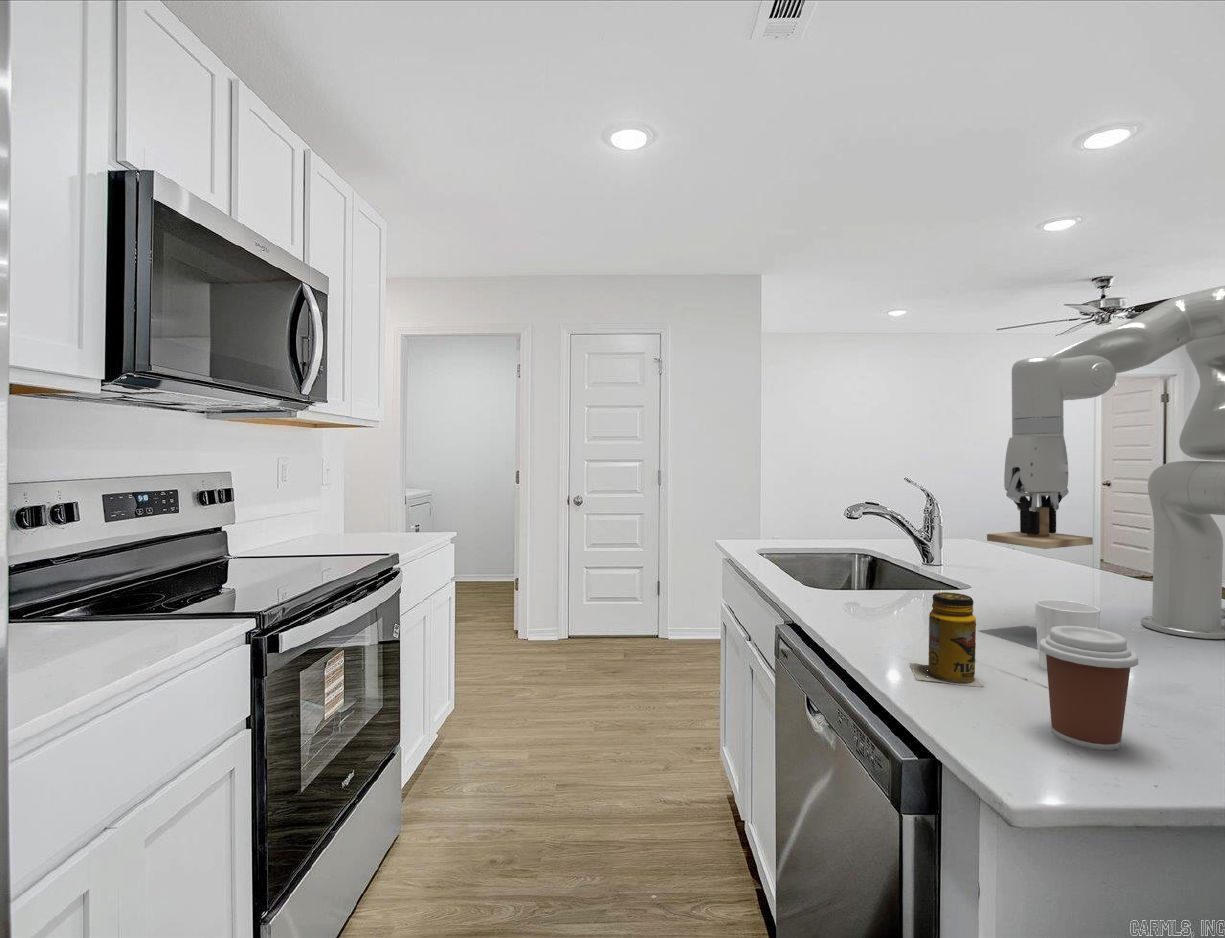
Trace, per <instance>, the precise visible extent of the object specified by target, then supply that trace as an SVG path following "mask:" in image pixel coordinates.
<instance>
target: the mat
mask: <svg viewBox="0 0 1225 938" xmlns="http://www.w3.org/2000/svg"><path fill="white" fill-rule="evenodd" d="M978 632H980V633H983V634H986V635H989V636H992V637H996V638H999V639H1002V640H1005V641H1008V642H1011V643H1015V644H1018V645H1022V646H1026V647H1028V648H1031V649H1034V650H1038V648H1037V632H1036V627H1034V626H1029V625H1022V626H1010V627H1001V628H990V629H982V630H978Z"/></svg>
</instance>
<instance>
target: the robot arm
mask: <svg viewBox="0 0 1225 938" xmlns="http://www.w3.org/2000/svg"><path fill="white" fill-rule="evenodd" d="M1183 346H1185V349H1186V352H1187V354H1188V357H1189V358H1190V360H1191V362H1192V364H1193V366H1194V368H1195V370H1196V372H1197V375H1198V379H1199V389H1198V392H1197V395H1196V398H1195V400H1194V402H1193V405H1192V407H1191V410H1190V412H1189V413H1188V415H1187V418H1186V420H1185V422H1184V425H1183V428H1182V430H1181V433H1180V436H1179V441H1178V444H1179V448H1180V450H1181V452H1182V453H1183V454H1185V455H1186V456H1188V457H1190V458H1193V459H1197V460H1182V461H1181V460H1179V461H1171V462H1167V463H1164V464H1161V465H1160V466H1158V467H1157V468H1155V469H1153V471H1152V472H1151V473H1150V476H1149V477H1148V481H1147V492H1148V497H1149V500H1150V506H1151V510H1152V516H1153V553H1152V554H1153V557H1152V559H1153V563H1152V566H1153V567H1152V608H1151V609H1152V611H1151V615H1148V616H1143V617H1141V625H1142V626H1143V627H1146V628H1147V629H1151V630H1154V631H1157V632H1161V633H1165V634H1171V635H1176V636H1181V637H1187V638H1195V639H1205V640H1225V625H1222V620H1224V619H1225V607H1222V599H1223V598H1222V597H1223V594H1222V593H1223V563H1224V562H1223V560H1224V559H1223V555H1224V554H1223V553H1224V552H1223V551H1224V538H1223V534H1222V532H1221V530H1220V528H1219V526H1218V524H1217V522H1216V521H1215V519H1214V518H1213V516H1212V515H1217V516H1218V515H1219V516H1225V285H1220V286H1215V287H1210V288H1208V289H1203V290H1198V291H1195V292H1190V293H1186V294H1183V295H1178V296H1175V297H1172V298H1169V299H1167V300H1165V301H1163V302H1161V303H1158V304H1157V305H1155V306H1153V307H1152V308H1150V309H1148V310H1146V311H1144V312H1143V313H1141V314H1139V315H1137V316H1136V317H1133V318H1132V319H1130V320H1128V321H1126V322H1124V323H1122V324H1120V325H1118V326H1116V327H1113V328H1110V329H1108V330H1104V331H1103V332H1100V333H1098V334H1096V335H1094V336H1091V337H1089V338H1087V339H1085V340H1082V341H1079V342H1077V343H1075V344H1072V345H1069V346H1067V347H1065V348H1062V349H1061V350H1058V351H1056V352H1055V353H1052V354H1051V355H1049V356H1040V357H1039V356H1037V357H1031V358H1030V357H1029V358H1023V359H1019V360H1017V361H1016V362H1015V363H1014V364H1013V365H1012V367H1011V434H1012V435H1011V437H1009V438H1008V442H1007V446H1006V452H1005V453H1006V454H1005V460H1004V477H1003V478H1004V479H1003V480H1004V481H1003V483H1004V485H1003V487H1004V490H1005V491H1006V494H1005V495H1006V497H1007V498H1008V499H1010V500H1011V501H1013V502H1014V504H1015V505H1016V508H1017V511H1019V528H1020V530H1019V531H1020V532H1021V533H1026V534H1034V535H1037V534H1039V533H1040V515H1039V512H1037V511H1036V509H1037V507H1048V508H1049V533H1057V511H1058V510H1059V508H1060V505H1059V504H1060V503H1061V501H1062V500H1063V498H1065V497H1066V496H1067V495H1068V494H1069V489H1068V486H1069V460H1068V453H1067V445H1066V440H1065V434H1064V433H1065V432H1064V431H1065V430H1064V401H1074V400H1076V401H1077V400H1086V399H1092V398H1096V397H1099V396H1101V395H1104V394H1105V393H1107V392H1108V391H1109V390H1111V389H1112V387H1113V386H1114V384H1115V382H1116V380H1117V374H1122V373H1126V372H1129V371H1133V370H1136V369H1140V368H1143V367H1145V366H1148V365H1150V364H1152V363H1155V362H1156V361H1158V360H1159V359H1161V358H1163V357H1164V356H1166V355H1168V354H1171V353H1172V352H1173V351H1175V350H1177V349H1179V348H1181V347H1183ZM1205 460H1206V461H1205ZM1027 497H1029V499H1028V498H1027Z"/></svg>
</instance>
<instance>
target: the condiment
mask: <svg viewBox="0 0 1225 938" xmlns="http://www.w3.org/2000/svg"><path fill="white" fill-rule="evenodd" d="M931 598H932V603H931V607H932V609H931V611H930V612H929V617H928V664H921V663H916V662H909V666H910V668H911V671H912V670H914V671H912V673H914V674H913V676H914V677H915V678H916V681H925V682H935V683H946V684H949V685H950V684H951V685H957V686H958V685H959V686H965V687H966V686H967V687H971V686H972V687H977V688H979V687H980V688H981V687H983V684H982V683H981V682H980V680H979V679H978V678H977V677H976V675H975V674H976V661H977V660H976V647H977V645H976V644H977V643H976V635H977V634H976V633H977V632H976V626H977V622H976V621H977V619H976V616H975V615H974V614H973V613H974V599H973V598H972V597H971V596H970V595H966V594H963V593H958V592H946V591H945V592H944V591H943V592H936V593H934V594H933V595H932V597H931ZM927 670H928V671H927ZM927 676H928V677H927Z"/></svg>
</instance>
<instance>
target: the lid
mask: <svg viewBox="0 0 1225 938" xmlns="http://www.w3.org/2000/svg"><path fill="white" fill-rule="evenodd" d="M1036 511H1037V512H1039V515H1040V533H1039V534H1037V535H1034V534H1026V533H1021V532H1020V530H1019V531H1009V532H1008V531H1007V532H998V533H987V534H986V541H987V542H993V543H1001V544H1005V545H1006V544H1007V545H1014V546H1015V545H1016V546H1021V547H1028V548H1037V549H1042V550H1048V549H1050V550H1051V549H1057V548H1058V549H1060V548H1069V547H1070V548H1071V547H1081V546H1083V547H1084V546H1091V545H1093V544H1094V543H1093V542H1094V541H1093V539H1094V538H1093V537H1091V536H1083V535H1082V536H1081V535H1074V534H1065V533H1058V532H1056V533H1049V508H1048V507H1039V506H1037V509H1036ZM1093 546H1094V545H1093Z"/></svg>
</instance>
